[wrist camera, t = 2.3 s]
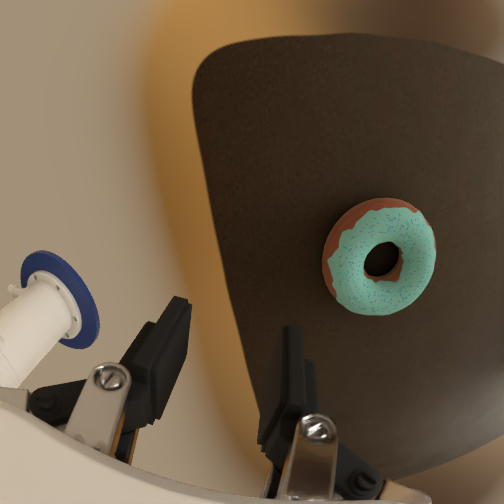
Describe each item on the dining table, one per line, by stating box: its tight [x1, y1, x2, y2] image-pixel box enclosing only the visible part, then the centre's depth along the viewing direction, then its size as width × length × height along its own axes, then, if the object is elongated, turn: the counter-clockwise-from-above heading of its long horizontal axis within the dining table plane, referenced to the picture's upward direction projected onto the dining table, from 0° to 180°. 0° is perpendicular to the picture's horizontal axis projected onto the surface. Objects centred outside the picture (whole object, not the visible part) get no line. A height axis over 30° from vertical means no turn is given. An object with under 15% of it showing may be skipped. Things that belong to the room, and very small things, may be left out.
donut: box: [322, 198, 436, 316], centre depth 25 cm, size 12×12×4 cm
